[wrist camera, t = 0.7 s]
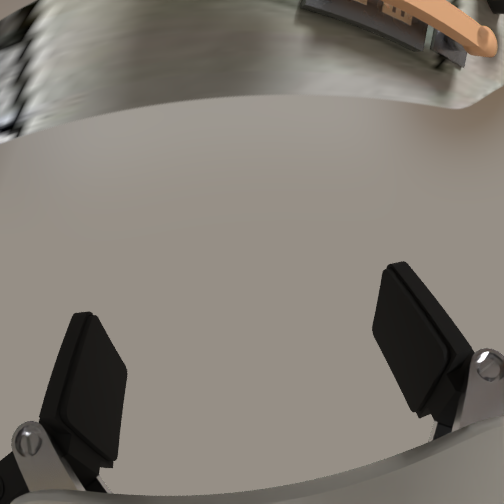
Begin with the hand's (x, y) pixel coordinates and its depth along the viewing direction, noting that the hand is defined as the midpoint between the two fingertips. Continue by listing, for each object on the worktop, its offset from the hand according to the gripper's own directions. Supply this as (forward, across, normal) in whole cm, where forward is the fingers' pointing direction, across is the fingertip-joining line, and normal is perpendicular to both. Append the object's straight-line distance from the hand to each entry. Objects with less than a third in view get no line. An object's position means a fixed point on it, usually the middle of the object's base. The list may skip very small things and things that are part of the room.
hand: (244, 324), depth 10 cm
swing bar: (+24, -24, -15) cm, 37 cm away
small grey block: (+28, -31, -12) cm, 44 cm away
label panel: (+28, -19, -16) cm, 38 cm away
